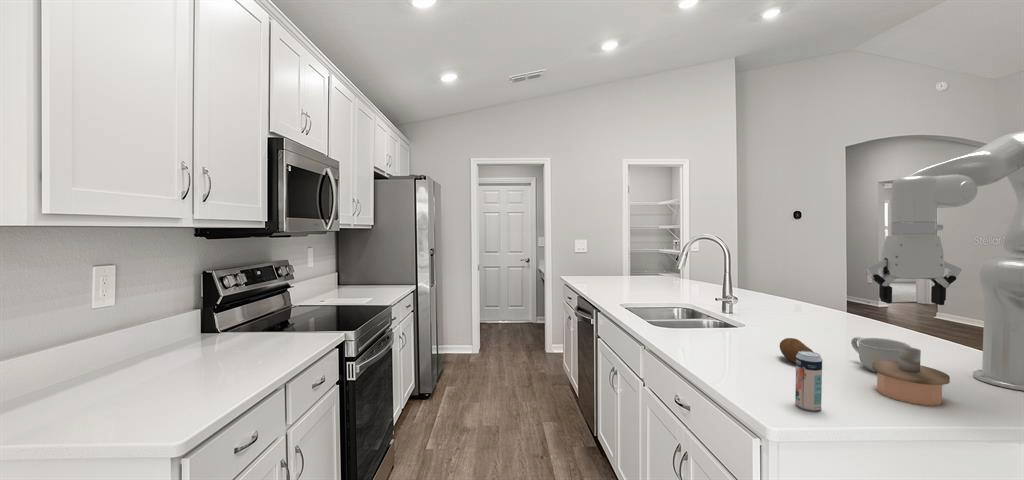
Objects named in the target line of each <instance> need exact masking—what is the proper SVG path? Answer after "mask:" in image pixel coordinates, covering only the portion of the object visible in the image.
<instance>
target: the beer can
mask: <svg viewBox="0 0 1024 480" xmlns="http://www.w3.org/2000/svg"><path fill="white" fill-rule="evenodd" d="M822 387H823V358H822V356H821V354H819V353H818V352H814V351H813V352H810V351H799V352H798V354H797V355H796V364H795V393H794V394H795V396H794V397H795V401H794V403H795V405H796V406H798V407H799V408H800V409H802V410H806V411H811V412H817V411H821V410H822V409H823V408H822V398H823V397H822V395H823V394H822V393H823V391H822V390H823V389H822Z"/></svg>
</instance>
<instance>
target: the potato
mask: <svg viewBox="0 0 1024 480" xmlns="http://www.w3.org/2000/svg"><path fill="white" fill-rule="evenodd" d="M779 349H780V352H781V354H782V355H783V356H784V357H785V359H786V360H787V361H789V362H791V363H793V364H795V365H796V355H797V354H798V352H799V351H810V352H814V351H813V350H812V349H811V348H809V347H808V346H807V345H806V344H805V343H803V342H802V341H801V340H799V339H797V338H793V337H787V338H784V339H782V340H781V341H780V342H779Z"/></svg>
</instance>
